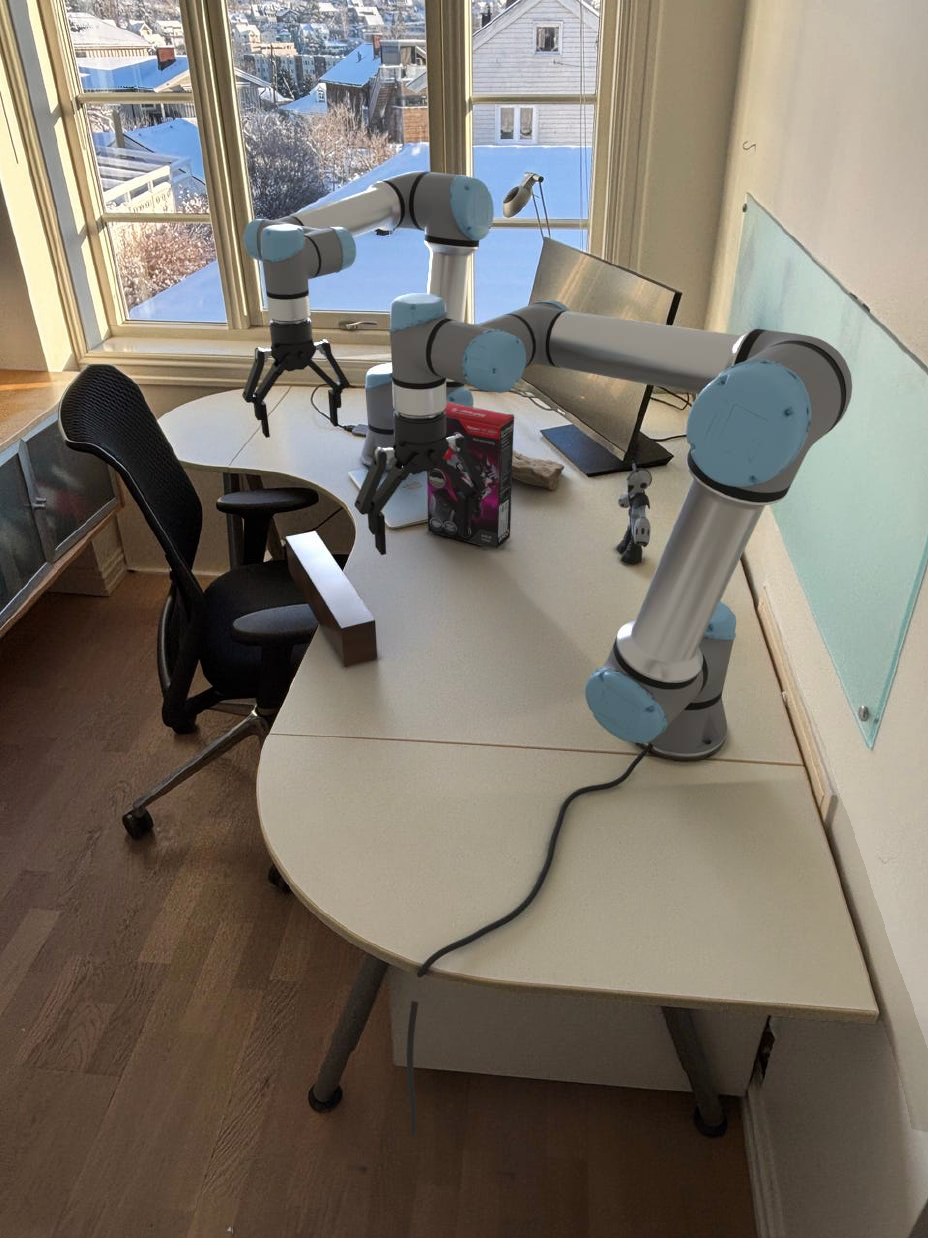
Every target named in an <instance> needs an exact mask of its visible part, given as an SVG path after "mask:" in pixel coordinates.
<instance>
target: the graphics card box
mask: <svg viewBox="0 0 928 1238" xmlns="http://www.w3.org/2000/svg"><path fill="white" fill-rule="evenodd" d="M444 410H445V411H446V438H449V437H452V436H453V434H454V433H455V432H459V433H460V434H461V435H462V436H463V437H464V438H466V440H467V448H468V452H469V454H470V456H471V458H472V460H473V462H474V464H475V466H476V468H477V470H478V472H479V474H480V475H481V477H482V479H483V481H484V483H485V485H486V489H485V490H484V491H478V492H477V497H476V498H475V499H474V507H473V508H474V511H473V514H470V515H469V522H468V537H463V536H462V535H461V534H460V533H459V532H458V531H457V492H462V493H463V490H462V489H461V488H460V487H459V486H458V485H457V484H456V483H455V482H454V481H453V480H452V479H451V478H450V477H449V476H448V475H447V474H446V473H445V472H444V471H443V470H442V469H441V468H440V467H439V466H437V467H436V468H435V469H433V471H431V472H426V490H427V491H426V492H427V493H426V494H427V495H426V496H427V497H426V498H427V500H426V501H427V532H428V533H432V534H435V535H436V534H437V535H440V536H444V537H446V538H447V537H448V538H452V539H456V540H460V541H463V542H466V543H467V542H468V543H470V544H474V545H478V546H483V547H486V548H490V549H493V550H498V549H499V548H500V547H501V546H502V545H504V543H506V541H508V540H509V539H510V538H511V525H512V524H511V523H512V522H511V521H512V519H511V517H512V490H513V489H512V484H513V479H512V478H513V477H512V459H513V450H514V434H515V433H514V431H515V426H514V425H515V418H516V417H515V416H514V415H515V414H514V413H513V414H511V413H503V412H497V411H493V410H488V409H485V408H479V407H475V406H473V407H469V406H464V405H459V404H455V403H450V402H446V408H445V409H444ZM443 459H444V460H445V461H446V462H447V463H448V464H449V465H450V467H451V468H452V469H453V470H454V471H455V472H456V473H457V474H458V475H459V476H460V477H461V478H462V479H463V480H464V481H465V482H466V483H467V484H469V483H470V482H471V480H470V478H469V476H468V474H467V472H466V470H465V469H464V467H463V465H462V463H461V461H460V459H459V457H458V455H457V453H456V452H455V451H454V450H453V449H452V448H451V447H449V448H448V450H447V452H446V453H445V455H444V456H443Z"/></svg>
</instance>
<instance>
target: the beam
mask: <svg viewBox="0 0 928 1238" xmlns="http://www.w3.org/2000/svg"><path fill="white" fill-rule="evenodd" d="M285 547H286V556H287V565H288V573H289V574H290V576H291V579H292V580H293V581H294V583H295V585H296V587H297V588H298V590H299V592H300V593H301V595H302V597H303V598H304V600H305V602H306V604H307V605H308V607H309V609H310V611H311V612H312V614H313V616H314V617H315V619H316V621H317V623H318V625H319V626H320V628H321V630H322V631H323V633H324V635H325V636H326V638H327V640H328V642H329V643H330V645H331V647H332V648H333V650H334V653H336V655H337V657H338V659H339V661H340V662H341V664H342V665H343V667H344V668H346V667H350V666H354V665H358V664H363V663H365V662H370V661H374V660H377V659H378V643H377V641H378V640H377V625H376V619H375V617H374V616H373V615H372V613H371V612H370V610H369V609H368V606H367V605H366V604H365V603H364V601H363V600H362V598H361V596H360V595H359V594H358V592H357V591H356V590H355V588H354V586H353V585H352V583H351V582H350V581H349V579H348V578H347V576H346V574H345V573H344V572H343V570H342V569H341V567H340V566H339V564H338V563H337V561H336V560H335V558H334V556H333V555H332V554H331V552H330V551H329V549H328V548H327V547H326V545H325V544H324V542H323V540H322V539H321V537H320V536H319V535H318V533H317V531H315V530H314V531H307V532H303V533H299V534H294V535H289V536H285Z"/></svg>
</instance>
